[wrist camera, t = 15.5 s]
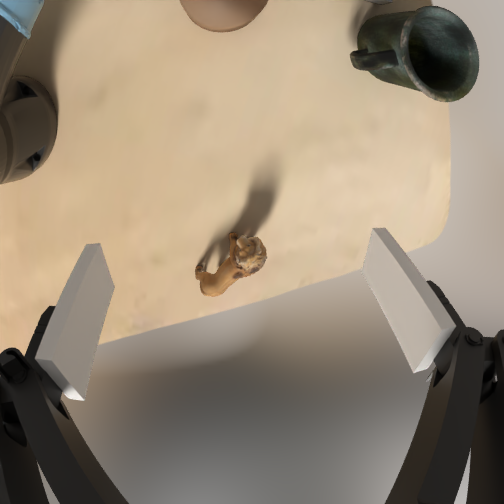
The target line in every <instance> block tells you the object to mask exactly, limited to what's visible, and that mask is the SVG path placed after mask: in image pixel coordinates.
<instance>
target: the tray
mask: <svg viewBox="0 0 504 504" xmlns="http://www.w3.org/2000/svg"><path fill="white" fill-rule="evenodd" d="M365 1H369V2H373V3H376V4H380V5H382V4H387V3H392V0H365Z"/></svg>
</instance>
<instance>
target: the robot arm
mask: <svg viewBox="0 0 504 504" xmlns="http://www.w3.org/2000/svg"><path fill="white" fill-rule="evenodd" d="M43 4H44V0H0V184H4V183H8V182H12V181H17V180H21V179H23V178H25V177H27V176H29V175H31V174H32V173H33V172H35V171H36V170H37V169H38V168H39V167H41V166H42V165H43V164H44V162H45V161H46V160H47V158H48V157H49V155H50V153H51V151H52V148H53V146H54V142H55V138H56V131H57V119H56V112H55V108H54V104H53V102H52V99H51V97H50V95H49V93H48V92H47V90H46V89H45V88H44V87H43V86H42V85H41V84H40V83H39V82H38V81H36V80H34V79H32V78H29V77H25V76H17V77H12V74H13V72H14V69H15V67H16V64H17V62H18V60H19V57H20V55H21V53H22V50H23V48H24V46H25V44H26V42H27V40H28V39H30V37H31V30H32V28H33V25H34V23H35V21H36V19H37V17H38V15H39V13H40V11H41V9H42V7H43ZM11 77H12V78H11ZM361 272H362V274H363V276H364V277H365V279H366V281H367V283H368V285H369V286H370V288H371V290H372V292H373V293H374V296H375V297H376V299H377V301H378V303H379V305H380V307H381V308H382V310H383V313H384V314H385V316H386V318H387V320H388V322H389V324H390V326H391V328H392V330H393V332H394V334H395V336H396V338H397V340H398V342H399V344H400V346H401V348H402V350H403V352H404V354H405V356H406V358H407V361H408V363H409V365H410V367H411V369H412V371H413V373H415V372H418V371H422V370H425V369H428V367H429V366H430V364H431V363H432V362H433V360H434V362H435V364H436V367H435V369H434V370H433V371H432V373H431V374H430V375H429V376H428V378H427V380H426V381H427V382H428V381H429V380H430V379H431V377H432V379H431V382H430V386H429V390H428V393H427V398H426V400H425V404H424V407H423V410H422V413H421V417H420V420H419V423H418V426H417V429H416V432H415V434H414V437H413V440H412V442H411V445H410V448H409V450H408V453H407V455H406V458H405V460H404V463H403V465H402V468H401V470H400V472H399V474H398V477H397V479H396V481H395V483H394V486H393V488H392V490H391V492H390V494H389V496H388V498H387V500H386V503H385V504H454V501H455V498H456V496H457V493H458V490H459V487H460V484H461V481H462V477H463V474H464V471H465V467H466V464H467V460H468V456H469V452H470V448H471V459H470V473H469V484H468V493H467V501H466V504H504V330H500V331H499V332H498V333H497V335H496V336H495V337H494V338H493V337H483V336H482V334H481V333H480V332H479V331H478V330H476V329H474V328H471V327H466V326H465V324H464V323H463V321H462V320H461V318H460V317H459V315H458V314H457V312H456V311H455V309H454V308H453V306H452V305H451V304H450V303H449V301H448V299H447V298H446V297H445V295H444V293H443V292H442V291H441V289H440V288H439V287H438V286H437V285H436V284H434V283H433V282H432V281H426V280H425V279H424V277H423V276H422V275H421V273H420V272H419V271H418V269H417V268H416V267H415V265H414V264H413V263H412V261H411V260H410V259H409V257H408V256H407V255H406V253H405V252H404V251H403V249H402V248H401V247H400V245H399V244H398V243H397V242H396V240H395V239H394V238H393V237H392V235H391V234H390V233H389V232H388V230H387V229H386V228H373V229H372V233H371V237H370V241H369V245H368V249H367V253H366V256H365V260H364V264H363V267H362V271H361ZM114 288H115V286H114V284H113V281H112V278H111V275H110V272H109V269H108V266H107V263H106V260H105V257H104V254H103V251H102V248H101V244H100V243H97V244H86V246H85V248H84V250H83V252H82V253H81V255H80V257H79V259H78V261H77V263H76V265H75V267H74V269H73V271H72V273H71V275H70V277H69V279H68V281H67V283H66V285H65V287H64V289H63V291H62V294H61V296H60V298H59V300H58V302H57V305H56V306H49V307H48V308H47V309H46V310H45V312H44V313H43V314H42V315H41V318H40V320H39V322H38V326H37V327H36V329H35V331H34V332H35V333H34V334H33V336H32V339H31V341H30V344H29V346H28V349H27V351H26V354H25V356H23V354H22V353H21V352H20V351H19V350H18V349H16V348H8V349H6V350H4V351H3V352H2V353H1V354H0V504H49V502H48V499H47V495H46V492H45V489H44V486H43V483H42V479H41V476H40V472H39V468H38V465H37V462H38V464H39V466H40V468H41V470H42V472H43V474H44V476H45V478H46V480H47V482H48V483H49V485H50V487H51V489H52V491H53V493H54V494H55V496H56V498H57V499H58V501H59V503H60V504H129V503H128V502H127V501H126V499H125V498H124V497H123V496H122V494H121V493H120V492H119V490H118V489H117V488H116V486H115V485H114V484H113V482H112V481H111V480H110V478H109V477H108V475H107V474H106V473H105V471H104V470H103V468H102V467H101V465H100V464H99V462H98V461H97V459H96V458H95V456H94V455H93V453H92V452H91V450H90V448H89V447H88V445H87V444H86V442H85V440H84V439H83V437H82V435H81V434H80V432H79V430H78V429H77V427H76V425H75V423H74V421H73V419H72V418H71V416H70V414H69V412H68V410H67V408H66V406H65V405H64V403H63V401H62V400H61V394H62V392H63V393H64V394H65V395H66V396H67V397H68V398H69V399H75V400H83V401H84V400H85V396H86V392H87V387H88V382H89V378H90V374H91V369H92V365H93V361H94V357H95V353H96V349H97V345H98V342H99V338H100V334H101V331H102V327H103V324H104V320H105V317H106V313H107V310H108V307H109V304H110V300H111V297H112V294H113V291H114ZM496 375H497V381H495V376H496Z"/></svg>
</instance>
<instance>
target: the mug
mask: <svg viewBox="0 0 504 504" xmlns="http://www.w3.org/2000/svg"><path fill="white" fill-rule="evenodd" d="M357 45H358V50H357V51H353V52H352V53H351V54H350V58H351V62H352V64H353V66H354V68H356V69H359V70H365V71H369V72H370V73H371V74H372V75H373V76H375V77H376V78H378V79H380V80H382V81H384V82H388V83H392V84H395V85H399V86H403V87H407V88H410V89H414V90H417V91H421V92H423V93H424V94H425V95H427V96H428V97H430V98H432V99H434V100H437V101H440V102H452V101H456V100H459V99H461V98H463V97H464V96H465V95H467V94H468V93H469V91H470V90H471V89H472V87H473V86H474V84H475V82H476V79H477V76H478V71H479V55H478V49H477V45H476V42H475V40H474V37H473V35H472V33H471V31H470V30H469V28H468V27H467V25H466V24H465V23H464V22H463V21H462V20H461V19H460V18H459V17H458V16H456V15H455V14H454V13H452V12H451V11H449V10H447V9H444V8H441V7H438V6H425V7H422V8H419V9H417V10H416V11H408V12H399V13H391V14H384V15H378V16H375V17H373V18H371V19H369V20H368V21H367V22H366V23H365V24H364V25H363V26H362V28H361V30H360V32H359V35H358V43H357Z"/></svg>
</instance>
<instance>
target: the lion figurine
mask: <svg viewBox="0 0 504 504" xmlns="http://www.w3.org/2000/svg"><path fill="white" fill-rule="evenodd" d="M237 237H238V235H237V234H236V233H234V232H233V233H230V235H229V240H230V257H229V258H228V259H226V260H225V261H224V262H223V263H222V264H221V266H220V267H219V268H218V270H217V272H216V273H215V274H211V273H208V272H202V271H203V268H202V266H197V267H196V269H195V274H196V279H197V280H200V289H201V292H202V293H203V295H205V296H212V297H214V296H218V295H221V294H223V293H224V292H225V290H226V289H227V288H228V287H229V286H230V285H232V284H233V283H234V282H235V281H237V280H238V279H239V278H243V277H247V276H250V275H251V274H254V273H255V272H257V271H259V270H260V269H261V268H262V266H263V265H264V263H265V261H266V259H267V256H266V255H267V254H266V248H265V246H264V245H263V243H262V242H261V240H260V239H259V238H258V237H249V238H247V237H246V236H244V235H242V236H241V237H240V238H239V239H237Z"/></svg>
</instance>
